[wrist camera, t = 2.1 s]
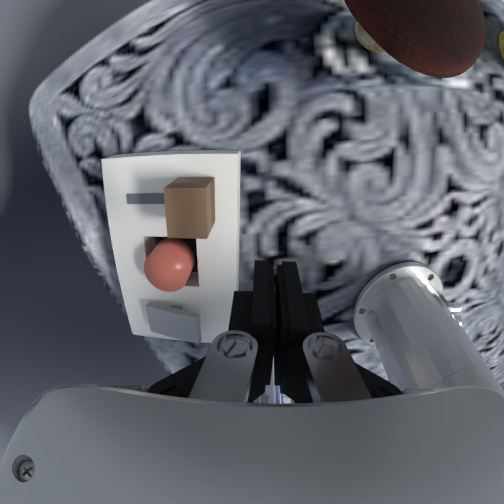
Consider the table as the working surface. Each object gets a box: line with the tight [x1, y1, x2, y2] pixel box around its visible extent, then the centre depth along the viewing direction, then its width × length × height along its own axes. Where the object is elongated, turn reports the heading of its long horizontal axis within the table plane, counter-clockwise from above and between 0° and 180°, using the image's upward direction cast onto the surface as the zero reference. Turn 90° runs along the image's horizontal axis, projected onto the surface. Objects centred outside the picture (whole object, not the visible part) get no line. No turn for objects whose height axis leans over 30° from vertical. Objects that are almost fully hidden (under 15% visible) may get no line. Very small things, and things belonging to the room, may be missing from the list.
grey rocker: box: [145, 302, 202, 344], centre depth 30 cm, size 6×4×1 cm, turn 89°
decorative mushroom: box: [345, 0, 486, 78], centre depth 13 cm, size 11×11×15 cm
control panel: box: [101, 150, 241, 343], centre depth 29 cm, size 13×21×4 cm, turn 178°
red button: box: [144, 238, 195, 292], centre depth 28 cm, size 4×4×3 cm
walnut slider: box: [164, 177, 215, 239], centre depth 23 cm, size 3×4×4 cm
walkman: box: [254, 356, 283, 404], centre depth 33 cm, size 8×3×12 cm, turn 13°
